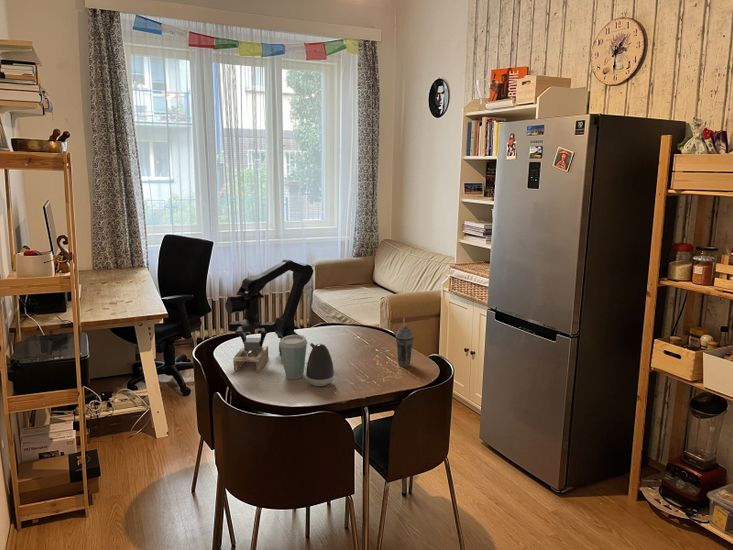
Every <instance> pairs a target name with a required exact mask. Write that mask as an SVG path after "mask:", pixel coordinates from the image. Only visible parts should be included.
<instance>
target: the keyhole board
mask: <svg viewBox="0 0 733 550" xmlns="http://www.w3.org/2000/svg"><path fill="white" fill-rule="evenodd" d="M248 353H250V351H246V350H244V345H243V346H241V348H240V349H239V351H238V352H236V354H235V355H234V356H233V359H232V361H233V372H234V371H237V370H238V369H239V370H240V369H241V367H242V366H243V364H244V363H245V362H254V363H255V373H260V372H261V371H262V369H263V368H262V367H264V366H265V364H266V363H267V362H268V360H269V345H263V346H262V348H261V349H260V350H259V351H256V354H258V355H257V357H248ZM244 361H245V362H244ZM241 365H242V366H241ZM240 366H241V367H240ZM239 370H238V371H239ZM238 371H237V372H238Z"/></svg>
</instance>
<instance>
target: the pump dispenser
mask: <svg viewBox="0 0 733 550" xmlns="http://www.w3.org/2000/svg"><path fill="white" fill-rule="evenodd" d="M310 347H311V348H312V349H311V351H310V353H309V356H308V359H307V363H306V370H305V371H306V372H305V373H306V374H305V375H306V376H305V377H307V380H308V382H309V383H310V384H311V385H313V386H315V387H325V386H328V385H329V384H330V383H331V382H332V380H333V379H334V376H335V368H334V363H333V359H332V356H331V353H330V350H329V348H328V347H327V346H326V345H325V344H322V343H317V344H314V343H312V342H311V343H310Z"/></svg>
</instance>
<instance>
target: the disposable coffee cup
mask: <svg viewBox="0 0 733 550" xmlns="http://www.w3.org/2000/svg"><path fill="white" fill-rule="evenodd" d="M306 338H307V337H305V336H304V335H301V334H298V335H289V336H286V337H284V338H282V339H280V340H281V341H280V340H279V342H278V347H279V346H280V350H281V355H280V356H281V358H282V364H283V368H284V374H285V376H286V378H288V379H290V380H296V379H300V378H303V376H304V373H305V365H306V364H305V363H306V356H307V355H306V353H307V346H308V340H307V339H306Z"/></svg>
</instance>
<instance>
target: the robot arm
mask: <svg viewBox="0 0 733 550" xmlns="http://www.w3.org/2000/svg"><path fill="white" fill-rule="evenodd" d="M288 271H289V272H292V282H293V283H292V286H291V289H290V291H289V295H288V298H287V301H286V304H285V306H284V310H283V313H282V315H281V316H280V317H278V316H277V317H276V318H275V321H267V322H266V323H261V318H260V315H261V314H260V313H261V310H260V299H263V298H264V297H265V296H264V295H263V294H262V293H261V291H262V290H264V288H265V287H266V285H267V284H269V283H270V282H272V281H273V280H276V279H277V278H279V277H280V276H282V275H283V274H286V273H287V272H288ZM313 274H314V269H313V267H312V266H311V265H310V264H306V263H304V262H295V261H293V260H290V259H282V260H281V261H280V262H279V263H277V264H275V265H274V266H272V267H270V268H269V269H267V270H264V271H263V272H262V273H260V274H259V273H258V274H255V275H251V276H248V277H246V278H244V279H243V280H242V282H241V285H240V288H239V289H238V291H237V292H236V294H235V295H228V296H227V299H226V301H225V304H224V307H225V311H226V313H227V314H228V315H232V314H236V313H242V312H244V314H243V316H244V317H243V320H242V321H240V320H232V321H231V322H230V323H229V324H228V326H227V331H228V332H235V334H237V335H239V336H240V339H241V340H242V343H243V344H244V341H245V340H246V339H247V333H250V334H251V333H254V332H255V331H256V330H258V329H259V330H261V332H259V333H260V338H261V341H260V346H261V347H262V345H263V344H264V341H265V339H266V337H267V335H268V334H270V333H275V335H277V338H279V342H280V341H281V339H282V338H284V337H286V336H289V335H299V334H298V333H297V332H296V331H295V325H296V324H295V316H296V313H297V309H298V307H299V304H300V301H301V298H302V295H303V292H304V288H305V286H307V284H308V283H309V282H310V281H311V279H312V276H313ZM263 346H264V345H263ZM278 353H279V356H282V355H281V350H280V346H279V345H278Z"/></svg>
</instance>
